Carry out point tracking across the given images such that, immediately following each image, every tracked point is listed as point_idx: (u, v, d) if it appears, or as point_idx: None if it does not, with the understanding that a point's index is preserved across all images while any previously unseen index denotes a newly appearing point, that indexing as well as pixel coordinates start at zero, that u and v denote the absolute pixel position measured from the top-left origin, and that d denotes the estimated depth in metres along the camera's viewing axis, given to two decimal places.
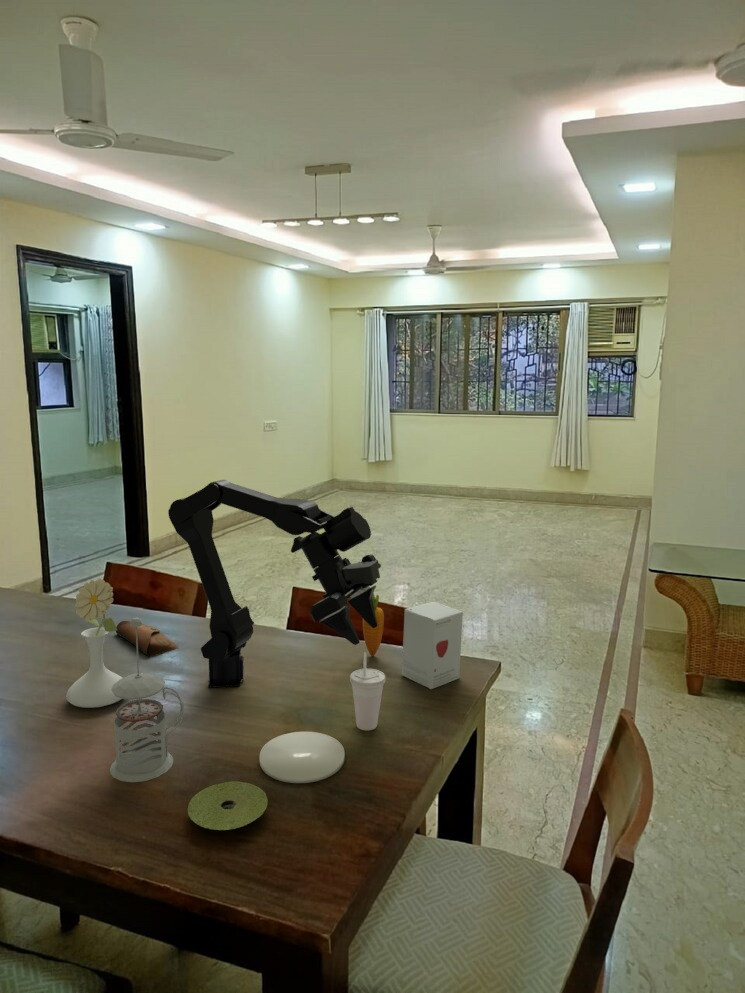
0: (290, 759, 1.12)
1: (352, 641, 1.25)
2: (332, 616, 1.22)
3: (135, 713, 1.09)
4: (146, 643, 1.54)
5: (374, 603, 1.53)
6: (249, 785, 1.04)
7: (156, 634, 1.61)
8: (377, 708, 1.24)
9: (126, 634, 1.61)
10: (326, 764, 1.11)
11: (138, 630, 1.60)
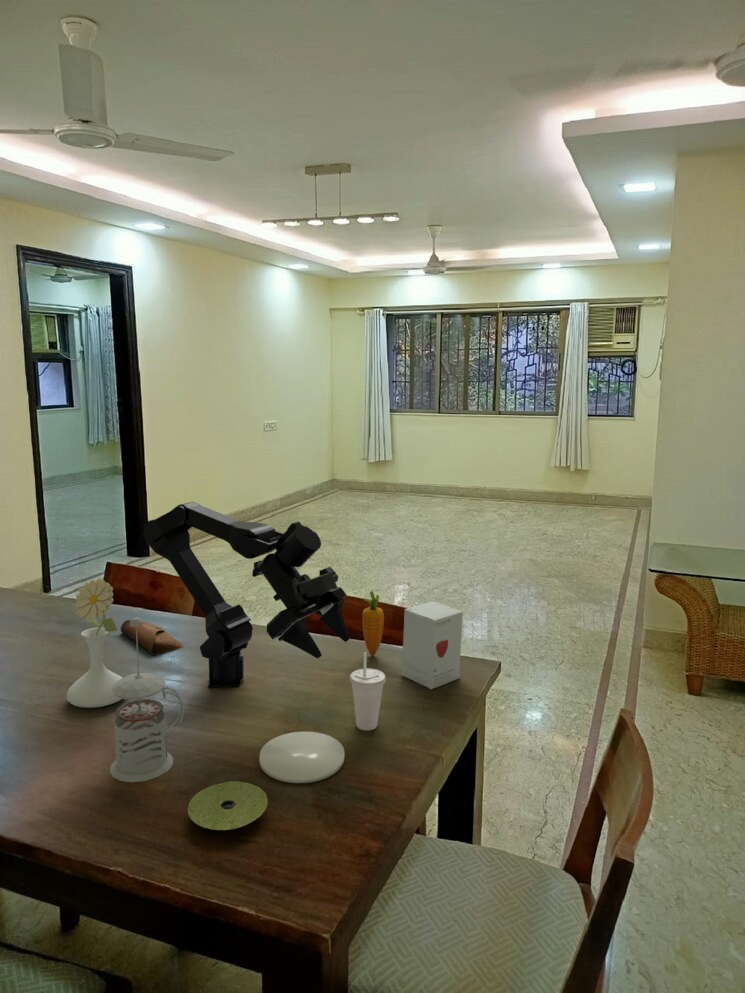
0: (290, 759, 1.12)
1: (314, 655, 1.23)
2: (287, 631, 1.22)
3: (135, 713, 1.09)
4: (151, 642, 1.55)
5: (374, 603, 1.53)
6: (249, 785, 1.04)
7: (161, 633, 1.62)
8: (377, 708, 1.24)
9: (131, 633, 1.62)
10: (326, 764, 1.11)
11: (143, 629, 1.61)
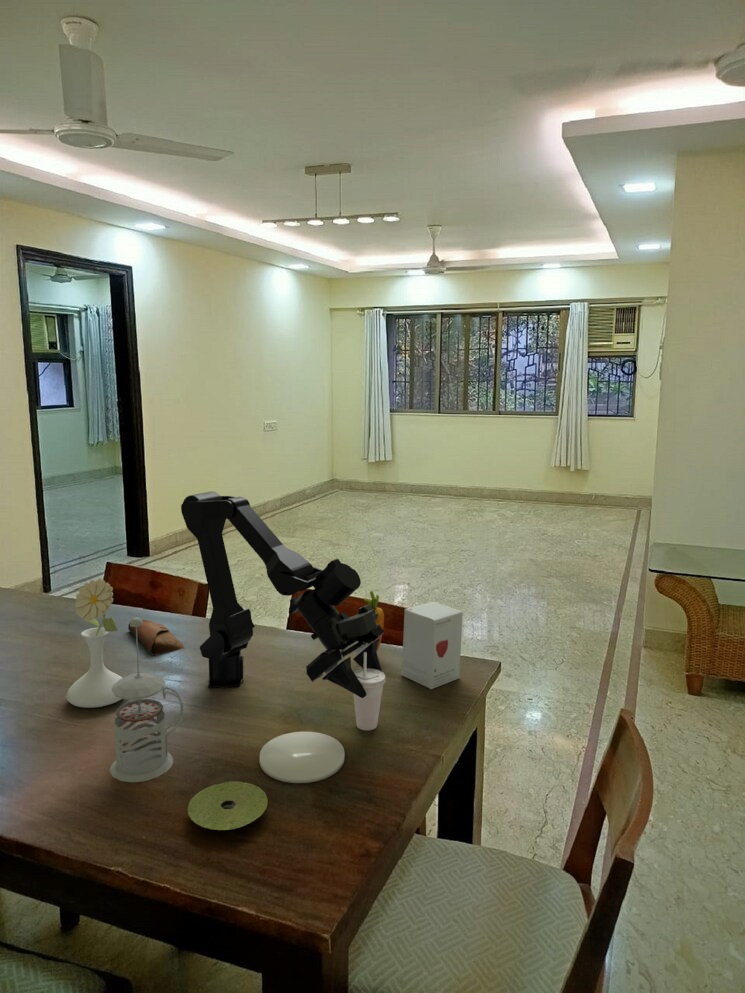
0: (290, 759, 1.12)
1: (359, 694, 1.21)
2: (332, 671, 1.19)
3: (135, 713, 1.09)
4: (151, 641, 1.55)
5: (374, 603, 1.53)
6: (249, 785, 1.04)
7: (164, 633, 1.62)
8: (377, 708, 1.24)
9: None
10: (326, 764, 1.11)
11: (146, 628, 1.61)
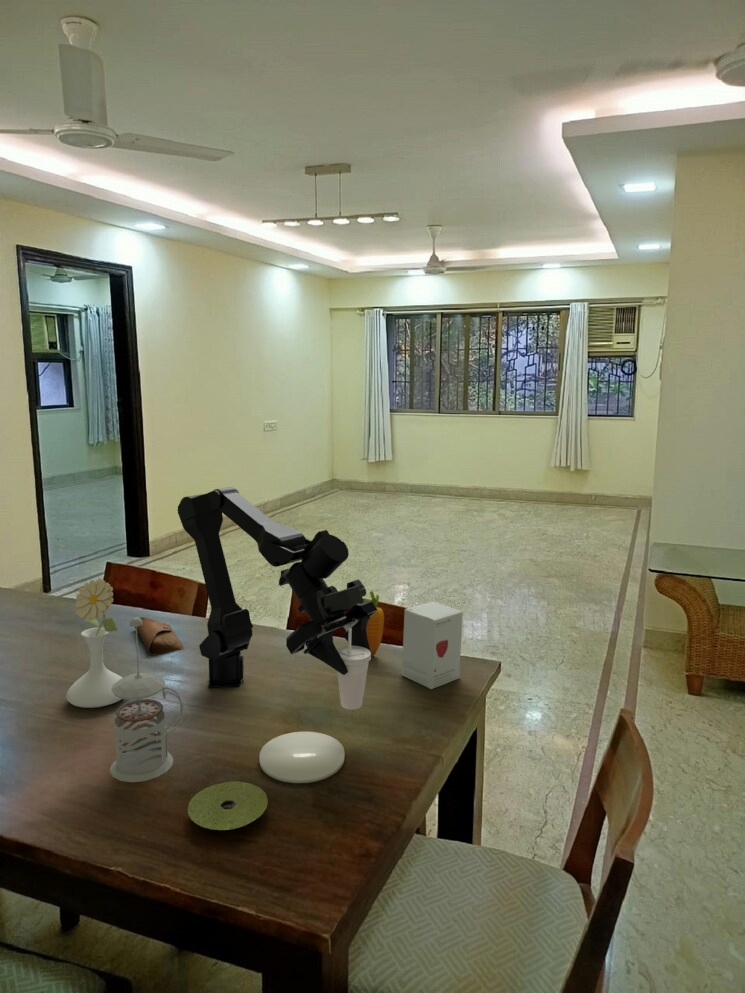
0: (290, 759, 1.12)
1: (340, 671, 1.16)
2: (312, 644, 1.15)
3: (135, 713, 1.09)
4: (150, 641, 1.55)
5: (374, 603, 1.53)
6: (249, 785, 1.04)
7: (166, 633, 1.62)
8: (361, 687, 1.19)
9: (139, 631, 1.64)
10: (326, 764, 1.11)
11: (149, 628, 1.62)
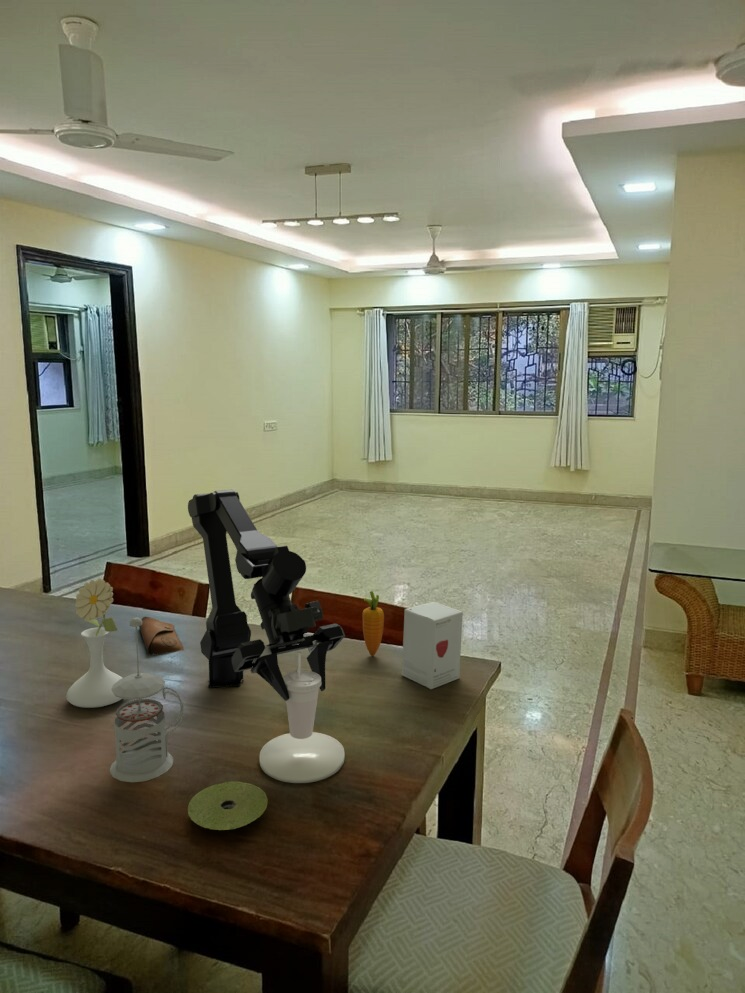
0: (290, 759, 1.12)
1: (282, 696, 1.10)
2: (255, 664, 1.11)
3: (135, 713, 1.09)
4: (149, 641, 1.55)
5: (374, 603, 1.53)
6: (249, 785, 1.04)
7: (167, 633, 1.62)
8: (306, 716, 1.11)
9: (142, 630, 1.64)
10: (326, 764, 1.11)
11: (150, 627, 1.62)
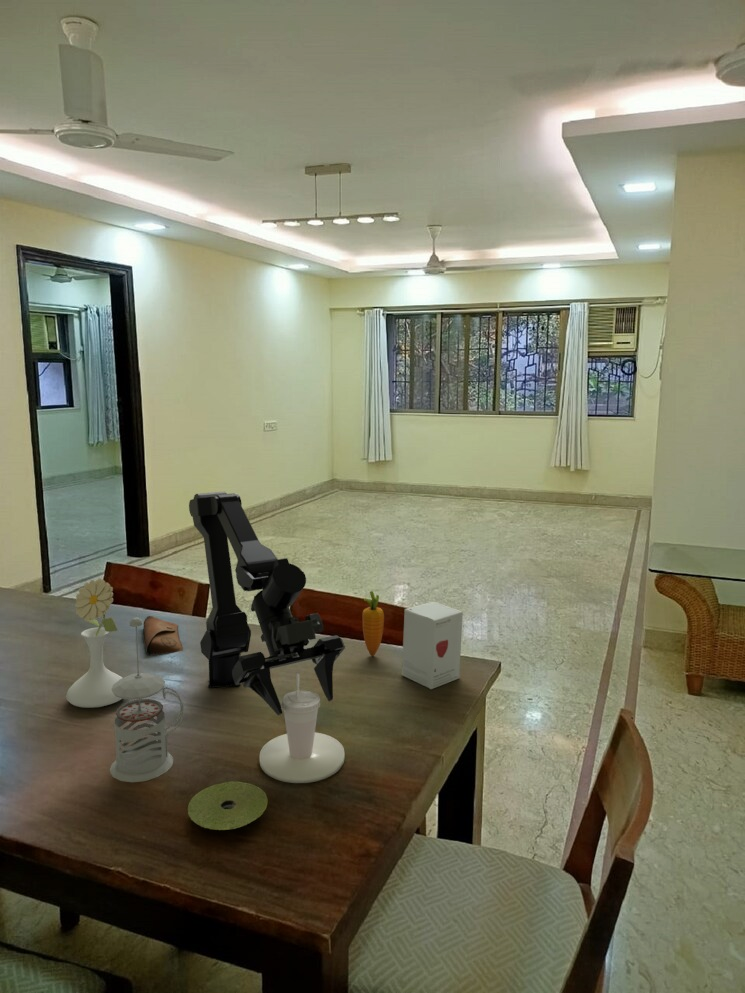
0: (290, 759, 1.12)
1: (275, 711, 1.09)
2: (248, 679, 1.10)
3: (135, 713, 1.09)
4: (148, 641, 1.56)
5: (374, 603, 1.53)
6: (249, 785, 1.04)
7: (168, 633, 1.62)
8: (306, 737, 1.11)
9: (144, 629, 1.64)
10: (326, 764, 1.11)
11: (152, 627, 1.62)
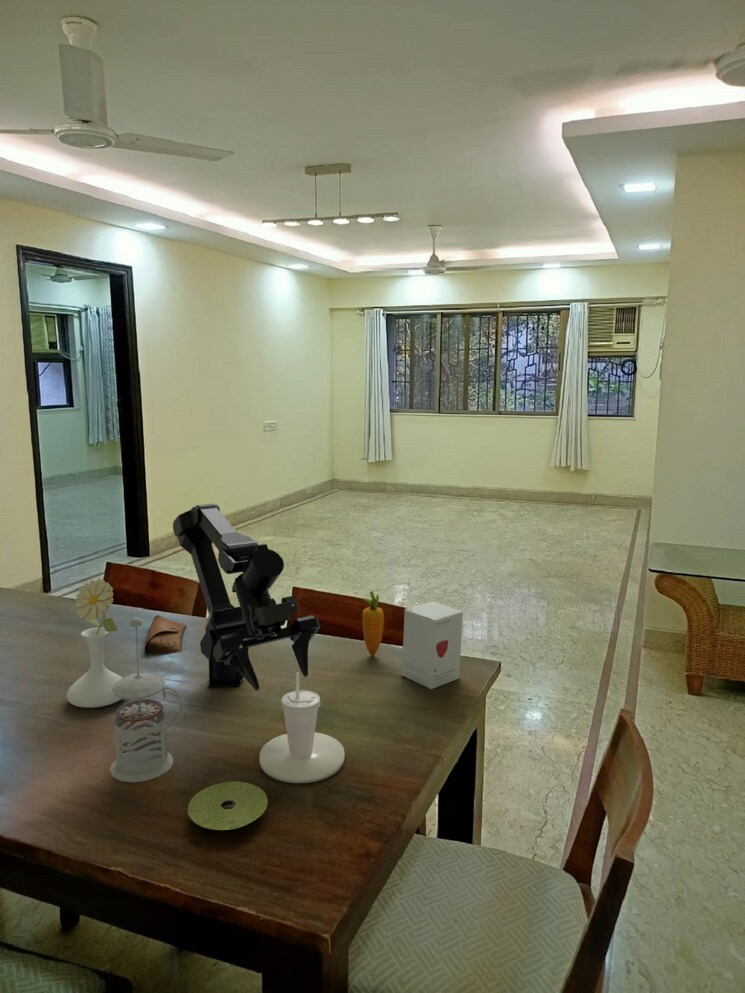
0: (290, 759, 1.12)
1: (253, 686, 1.18)
2: (227, 657, 1.18)
3: (135, 713, 1.09)
4: (147, 640, 1.56)
5: (374, 603, 1.53)
6: (249, 785, 1.04)
7: (170, 634, 1.61)
8: (305, 737, 1.11)
9: (149, 629, 1.65)
10: (326, 764, 1.11)
11: (155, 626, 1.62)
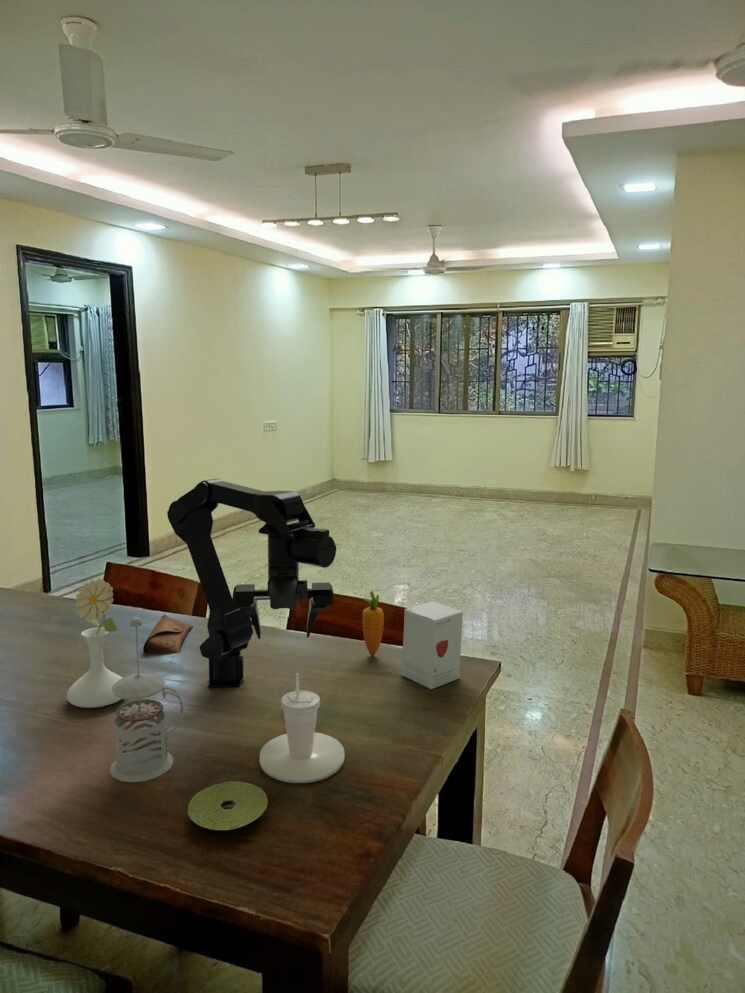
0: (290, 759, 1.12)
1: None
2: None
3: (135, 713, 1.09)
4: (146, 640, 1.56)
5: (374, 603, 1.53)
6: (249, 785, 1.04)
7: (171, 634, 1.61)
8: (305, 737, 1.11)
9: None
10: (326, 764, 1.11)
11: (158, 626, 1.63)
